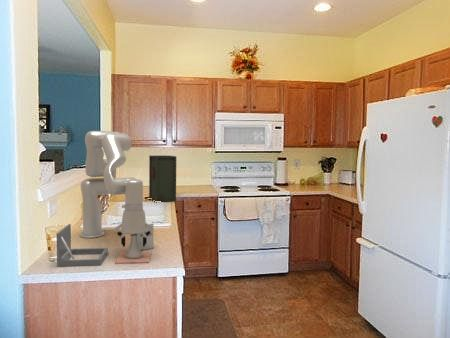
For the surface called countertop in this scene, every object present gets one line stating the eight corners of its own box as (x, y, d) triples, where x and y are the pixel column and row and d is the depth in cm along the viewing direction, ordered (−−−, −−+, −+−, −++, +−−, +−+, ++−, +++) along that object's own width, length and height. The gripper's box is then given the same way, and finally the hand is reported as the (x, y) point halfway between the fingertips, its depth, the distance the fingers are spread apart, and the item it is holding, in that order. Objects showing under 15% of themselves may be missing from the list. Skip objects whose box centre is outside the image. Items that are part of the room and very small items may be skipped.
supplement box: (138, 250, 164) (139, 225, 163) (134, 246, 170) (134, 221, 169) (153, 248, 168) (153, 223, 167) (148, 244, 174) (148, 220, 173)
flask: (144, 254, 157) (144, 233, 156) (138, 259, 149) (138, 237, 149) (130, 253, 158) (130, 232, 157) (122, 258, 151) (122, 236, 150)
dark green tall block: (176, 201, 302) (176, 156, 299) (155, 203, 293) (156, 156, 290) (168, 198, 318) (168, 155, 315) (149, 199, 309) (149, 155, 306)
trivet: (120, 253, 159) (120, 252, 159) (151, 252, 161) (151, 251, 161) (115, 263, 146) (115, 262, 146) (148, 262, 148) (148, 261, 148)
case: (69, 253, 157) (68, 223, 156) (108, 252, 160) (107, 223, 159) (57, 266, 141) (56, 233, 140) (100, 265, 144) (100, 232, 143)
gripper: (112, 209, 147) (112, 248, 148) (153, 208, 149) (153, 247, 151) (115, 205, 154) (115, 243, 156) (154, 205, 157) (154, 243, 158)
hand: (134, 245), depth 153 cm, fingers open, 8 cm apart
